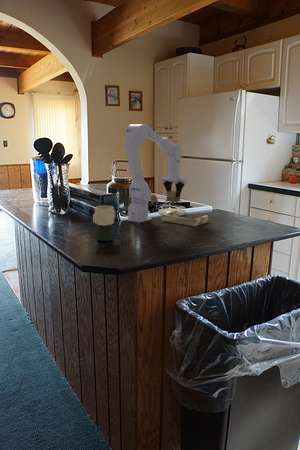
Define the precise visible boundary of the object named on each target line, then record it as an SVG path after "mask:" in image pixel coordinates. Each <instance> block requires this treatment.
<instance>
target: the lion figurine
mask: <svg viewBox="0 0 300 450" xmlns="http://www.w3.org/2000/svg"><path fill="white" fill-rule="evenodd" d="M150 201H151V203H150V204H152V205H154V203H155V204H156V205H157V204H158V205H160V203H159V201H158V197H157V195H156V194H153V193H152V196H151V199H150V200H149V202H150Z"/></svg>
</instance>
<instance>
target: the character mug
mask: <svg viewBox="0 0 300 450" xmlns="http://www.w3.org/2000/svg"><path fill="white" fill-rule="evenodd" d="M115 219H116V210H115V208H114V206H112V205H97V206H95V207H94V214H92V221H93V223H95V224H96V225H98V226H97V231H96V241H101V242H108V241H112V240H114V236H113V235H114V234H113V233H114V232H113V228H112V225H113V224H114V223H115Z"/></svg>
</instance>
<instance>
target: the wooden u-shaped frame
mask: <svg viewBox="0 0 300 450" xmlns="http://www.w3.org/2000/svg"><path fill="white" fill-rule="evenodd" d="M177 215H178V211H173V212H169V213H165V214H162V215H161V221H162V222H166V223H167V222H168V223H173V224H177V225H182V226H183V225H185V226H190V227H198V226H200V225H202V224H203V225H204V224H206V223H208V222H209V215H206V214H205V215H203V216H199V217H197V218H189V217H184V216H177Z"/></svg>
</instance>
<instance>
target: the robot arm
mask: <svg viewBox="0 0 300 450" xmlns="http://www.w3.org/2000/svg"><path fill="white" fill-rule="evenodd" d="M124 132H125V142H124V143H125V145H124V147H125V152H126V156H127V162H128V166H129V171H130V172H129V173H130V176H131V181H132V182H131V184H130V185H129V198H130V199H131V201H132V203H130V204H129V205H128V207H127V212H128V213H127V215H128V216H127V219H126V221H129V222H133V223H134V222H135V223H144V222H147V221H151V220H152V217H151V218H150V217H149V202H150V201H151V200H150V199H151V196H152V194H153V193H152V190H151V188H150V187H149V183H147V181H145V178H144V173H143V165H142V161H141V156H140V150H139V146H140V145H141V144H142V143H143V142H144V141H145V140H146V139H148V140H150V141H152V142H154V143H155V144H157V147H158V148H159V149H160V150H162V151H163V152H165V154H166V156H167V157H168V166H167V167H168V168H167V169H168V170H167V171H168V175H167V177H166V176H165V177H164V176H163V177H161V178H160V179H161V182H163V183H162V184H163V186H164V188H165V190H166V193H167V191H172V186H173V183H174V185H175V191H176V197H180V198H181V194H182V192H183V191H182V190H183V188H184V186H185V184H187V183H188V179H186V178H180V176H181V175H180V174H181V160H182V155H183V153H184V150H183V149H182V147H181V146H180V145H178V144H177V145H176V144H175V142H173V141H171V140H170V139H169V137H168V136H163V137H161V136H160V135H159V134H158V133H157V132H156V131H155V130H153V129H152V127H151V126H149V124H148V125H147V124H146V123H140V124H138V123H136V124H133V123H131V124H129V125H128V126H127V127H126V128H125V130H124ZM149 200H150V201H149Z"/></svg>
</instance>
